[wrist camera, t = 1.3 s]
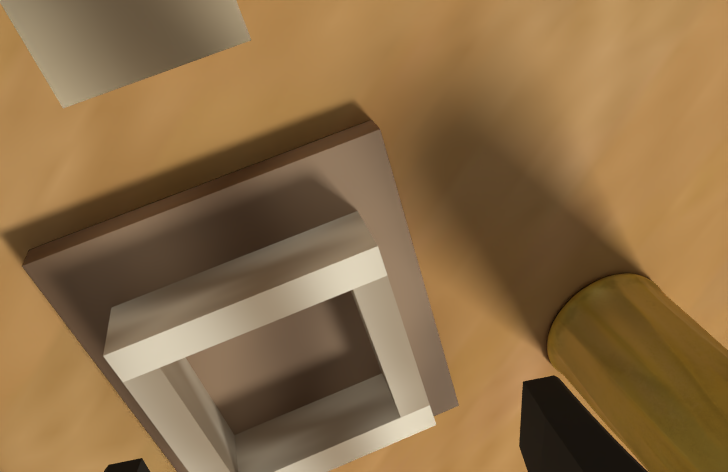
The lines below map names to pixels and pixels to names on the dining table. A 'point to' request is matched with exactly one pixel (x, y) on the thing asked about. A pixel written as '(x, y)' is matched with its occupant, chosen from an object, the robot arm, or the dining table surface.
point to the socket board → (261, 312)
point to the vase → (646, 373)
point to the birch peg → (120, 39)
